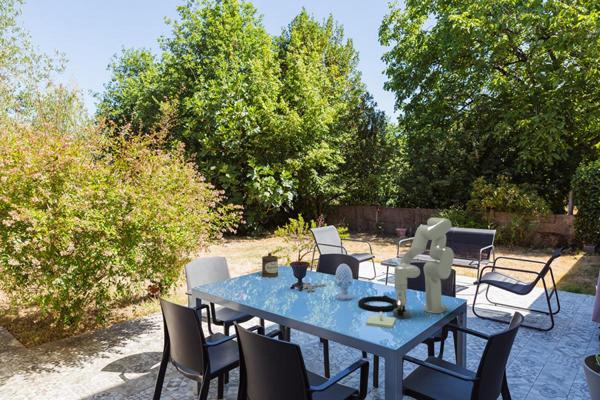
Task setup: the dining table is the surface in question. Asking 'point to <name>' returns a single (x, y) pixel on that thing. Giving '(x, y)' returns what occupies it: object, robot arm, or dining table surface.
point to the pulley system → (307, 285)
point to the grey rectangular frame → (405, 313)
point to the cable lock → (378, 308)
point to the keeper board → (381, 321)
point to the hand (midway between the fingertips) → (401, 313)
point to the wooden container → (270, 266)
